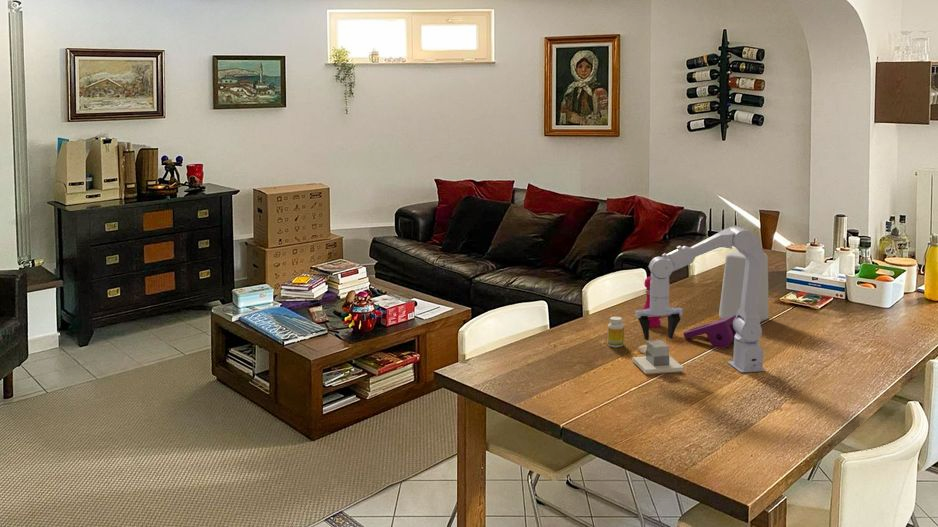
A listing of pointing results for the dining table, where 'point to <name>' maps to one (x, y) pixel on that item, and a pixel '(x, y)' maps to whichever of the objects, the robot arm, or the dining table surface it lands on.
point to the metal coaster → (642, 349)
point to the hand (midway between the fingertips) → (658, 338)
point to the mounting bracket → (715, 332)
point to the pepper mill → (655, 319)
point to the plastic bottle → (741, 286)
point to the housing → (657, 353)
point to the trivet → (650, 369)
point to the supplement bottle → (615, 332)
